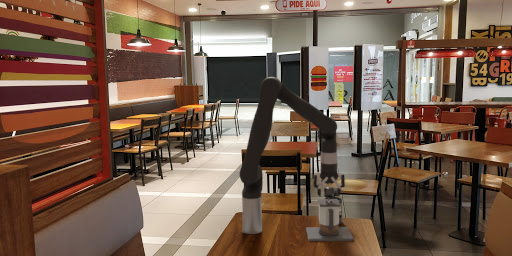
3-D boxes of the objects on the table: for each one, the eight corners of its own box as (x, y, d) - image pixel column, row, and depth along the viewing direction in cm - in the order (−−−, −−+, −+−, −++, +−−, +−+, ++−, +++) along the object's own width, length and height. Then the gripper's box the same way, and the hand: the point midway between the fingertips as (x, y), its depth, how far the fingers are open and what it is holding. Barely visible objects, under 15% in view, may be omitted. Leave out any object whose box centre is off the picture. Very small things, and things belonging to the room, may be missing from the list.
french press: (343, 219, 209) (343, 176, 206) (344, 225, 200) (344, 180, 197) (320, 218, 211) (320, 175, 208) (320, 225, 202) (320, 180, 199)
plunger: (324, 221, 186) (324, 189, 184) (323, 217, 190) (323, 186, 188) (334, 220, 186) (334, 189, 184) (332, 217, 190) (332, 186, 188)
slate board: (308, 241, 182) (308, 238, 182) (306, 229, 196) (306, 227, 196) (353, 240, 182) (353, 238, 181) (347, 229, 195) (347, 227, 195)
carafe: (320, 239, 181) (320, 207, 180) (317, 228, 194) (317, 199, 192) (341, 238, 181) (342, 207, 179) (337, 228, 193) (337, 198, 191)
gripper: (314, 163, 181) (314, 198, 183) (346, 163, 181) (345, 198, 183) (312, 160, 189) (312, 194, 191) (343, 159, 188) (342, 193, 190)
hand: (328, 196), depth 187 cm, fingers open, 8 cm apart
